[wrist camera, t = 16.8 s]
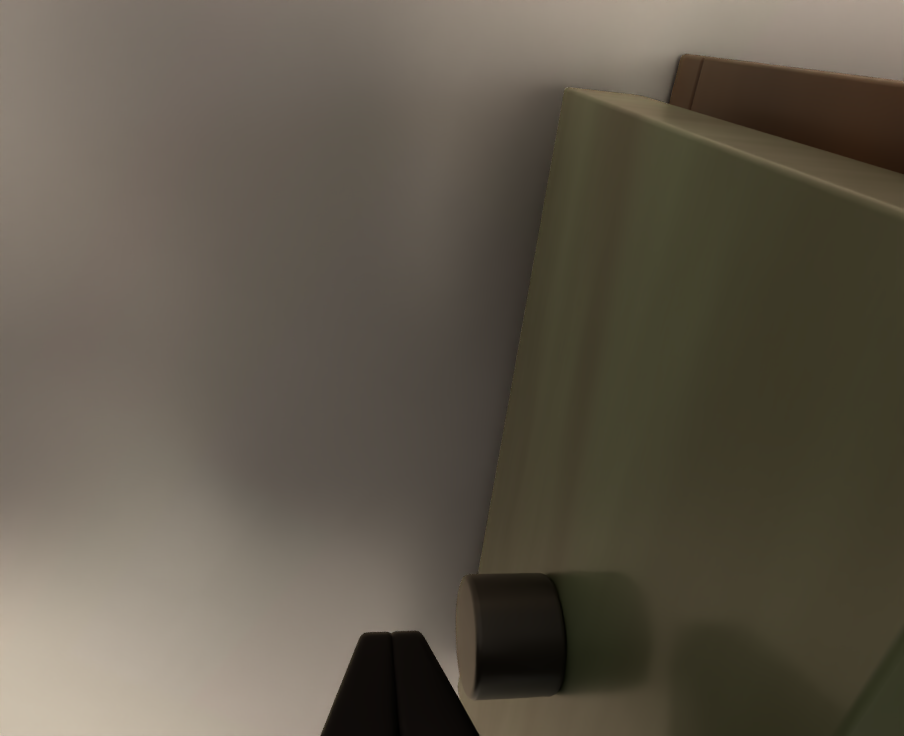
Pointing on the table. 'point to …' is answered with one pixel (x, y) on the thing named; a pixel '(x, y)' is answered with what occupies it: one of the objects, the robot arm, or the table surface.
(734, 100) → the cabinet
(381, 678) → the robot arm
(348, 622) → the table surface
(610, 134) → the drawer
